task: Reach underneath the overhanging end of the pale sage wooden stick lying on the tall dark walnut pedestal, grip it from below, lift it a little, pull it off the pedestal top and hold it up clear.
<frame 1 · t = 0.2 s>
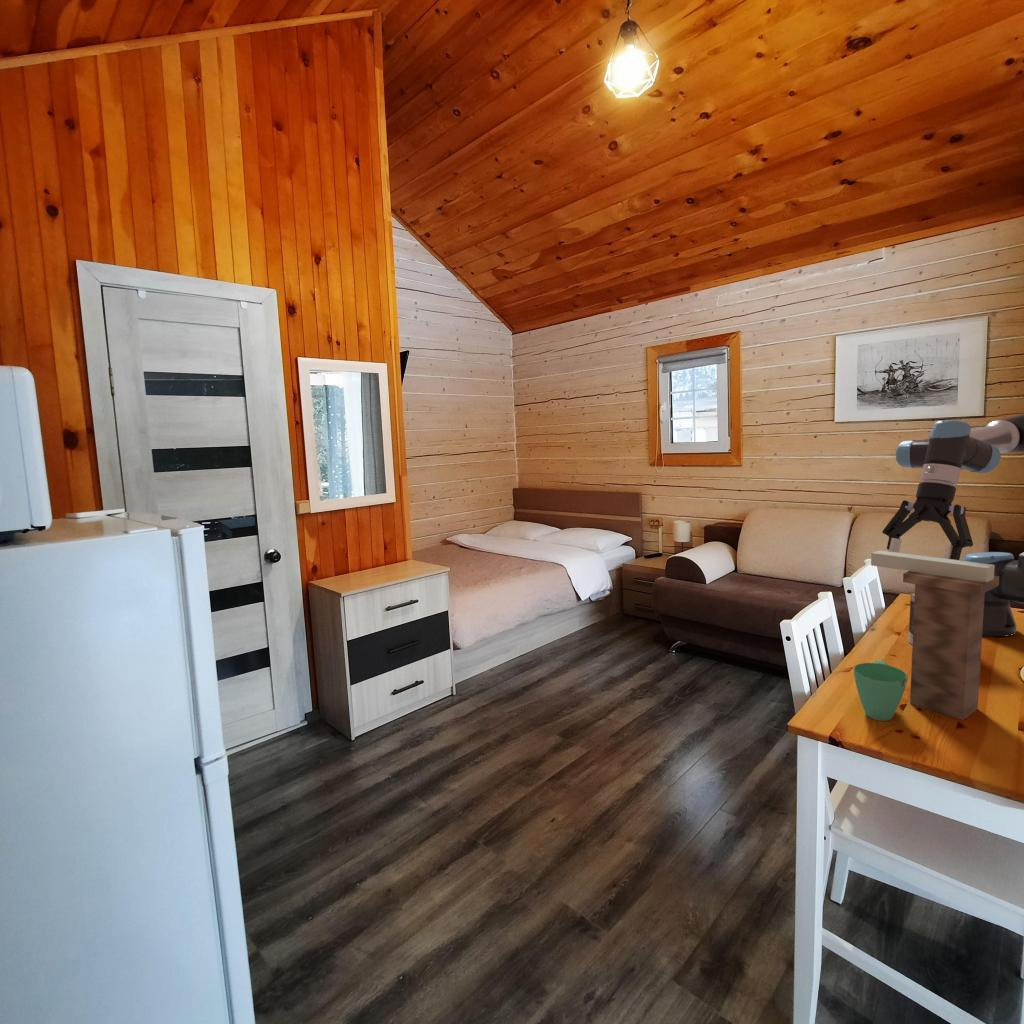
hand: (917, 568, 141), 27 cm above the table, tool tilted 15°, fingers open, 13 cm apart
mug: (878, 711, 128), on the table
tea box: (940, 653, 158), on the table
pedestal: (943, 706, 128), on the table
stick: (928, 571, 128), point 30 cm above the table, touching pedestal
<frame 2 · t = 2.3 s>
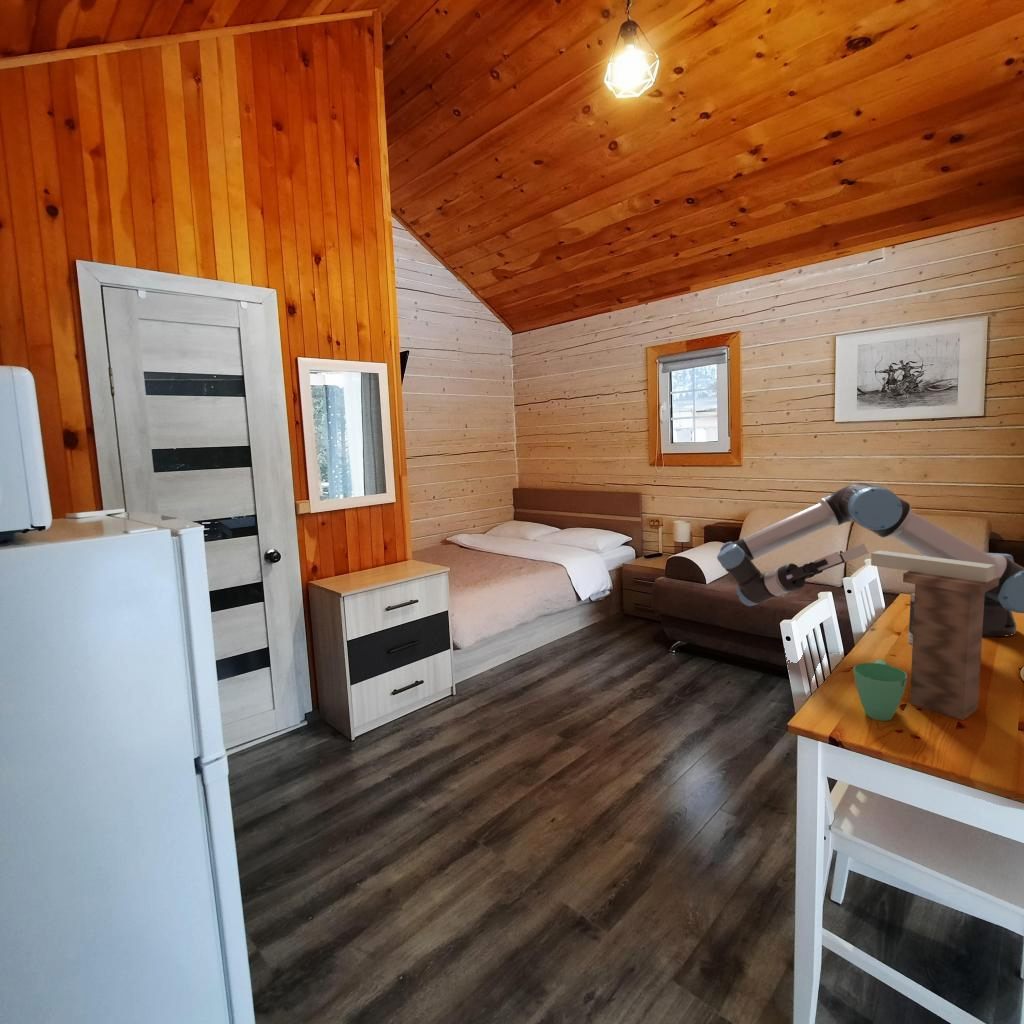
hand: (853, 552, 151), 30 cm above the table, tool pointing upward, fingers open, 13 cm apart
nothing on the table moved.
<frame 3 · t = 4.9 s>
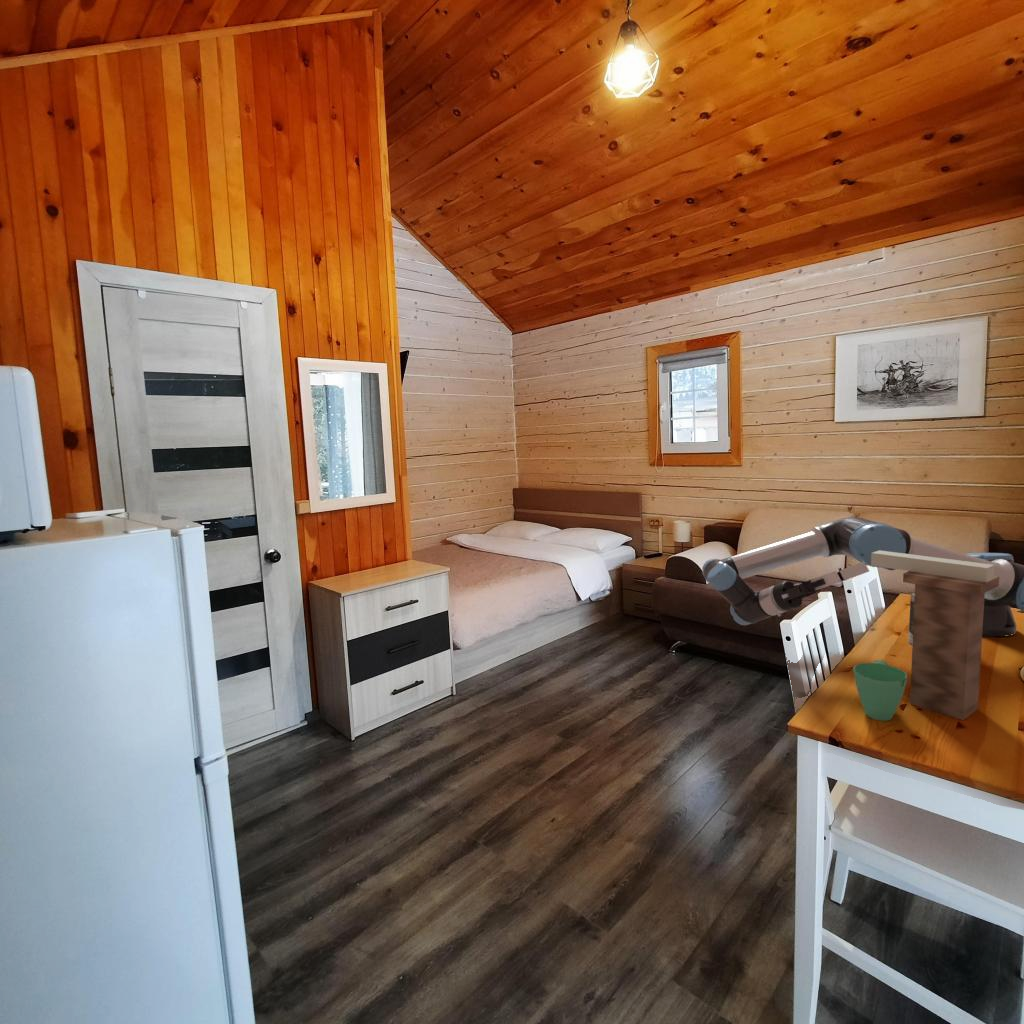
hand: (852, 571, 141), 28 cm above the table, tool pointing upward, fingers open, 13 cm apart
nothing on the table moved.
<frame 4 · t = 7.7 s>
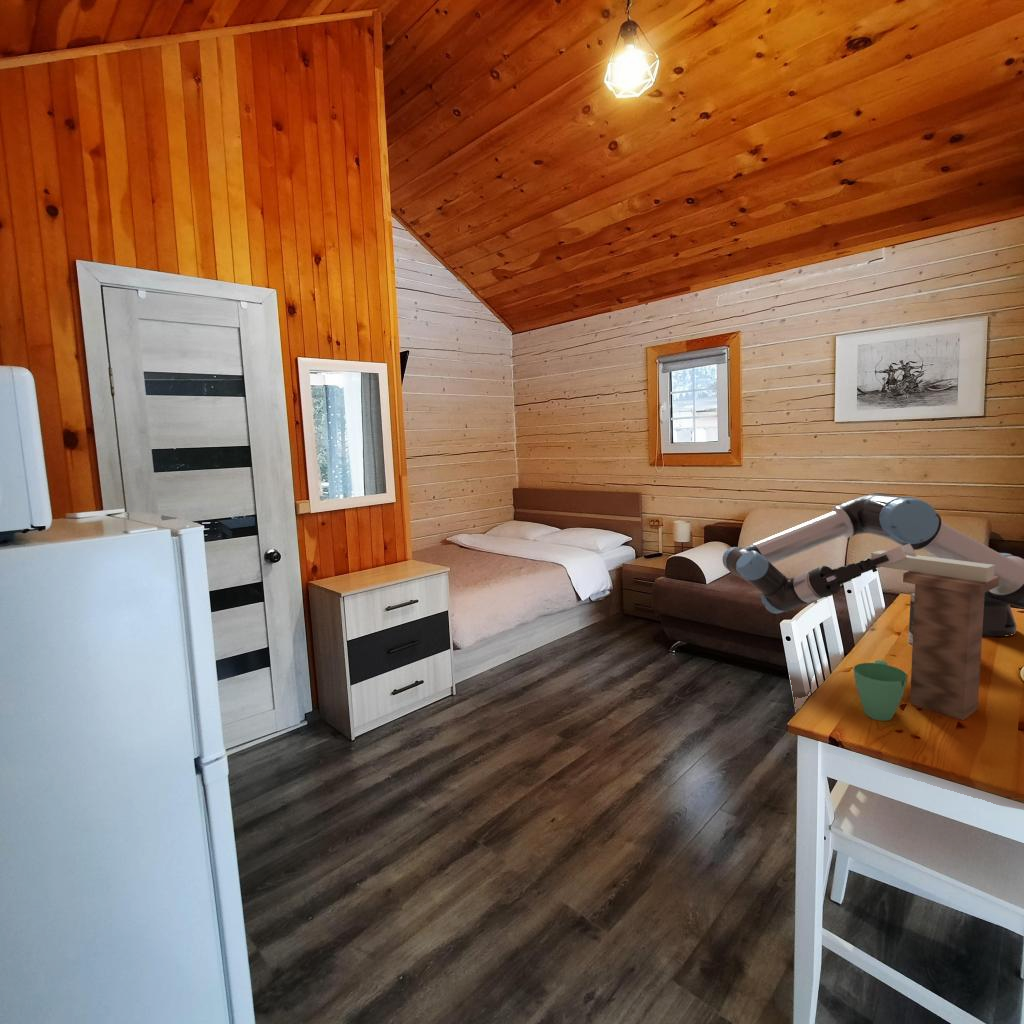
hand: (907, 550, 131), 34 cm above the table, tool pointing upward, fingers closed on stick, 4 cm apart
stick: (928, 571, 128), point 30 cm above the table, touching gripper, pedestal
everything else where it was.
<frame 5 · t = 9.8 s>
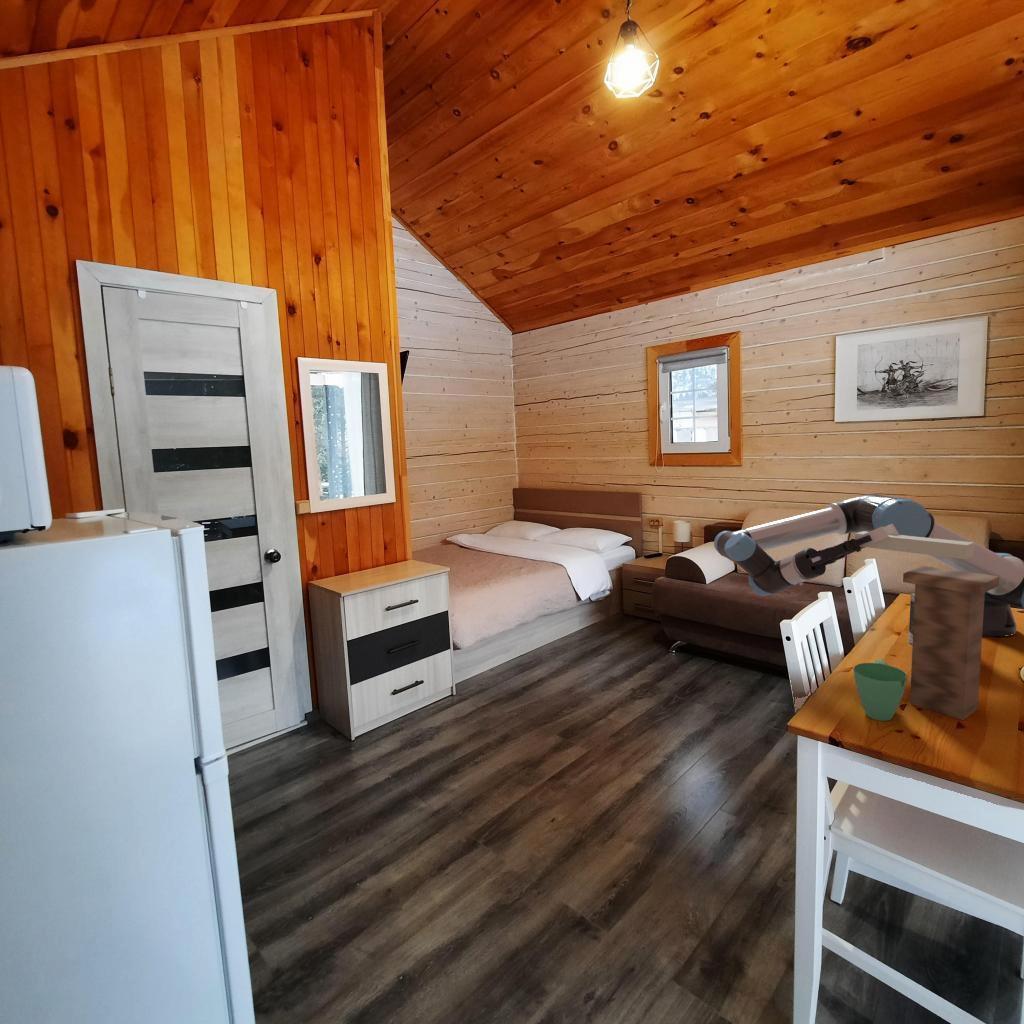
hand: (890, 530, 133), 38 cm above the table, tool pointing upward, fingers closed on stick, 4 cm apart
stick: (910, 550, 130), point 34 cm above the table, touching gripper
everything else where it was.
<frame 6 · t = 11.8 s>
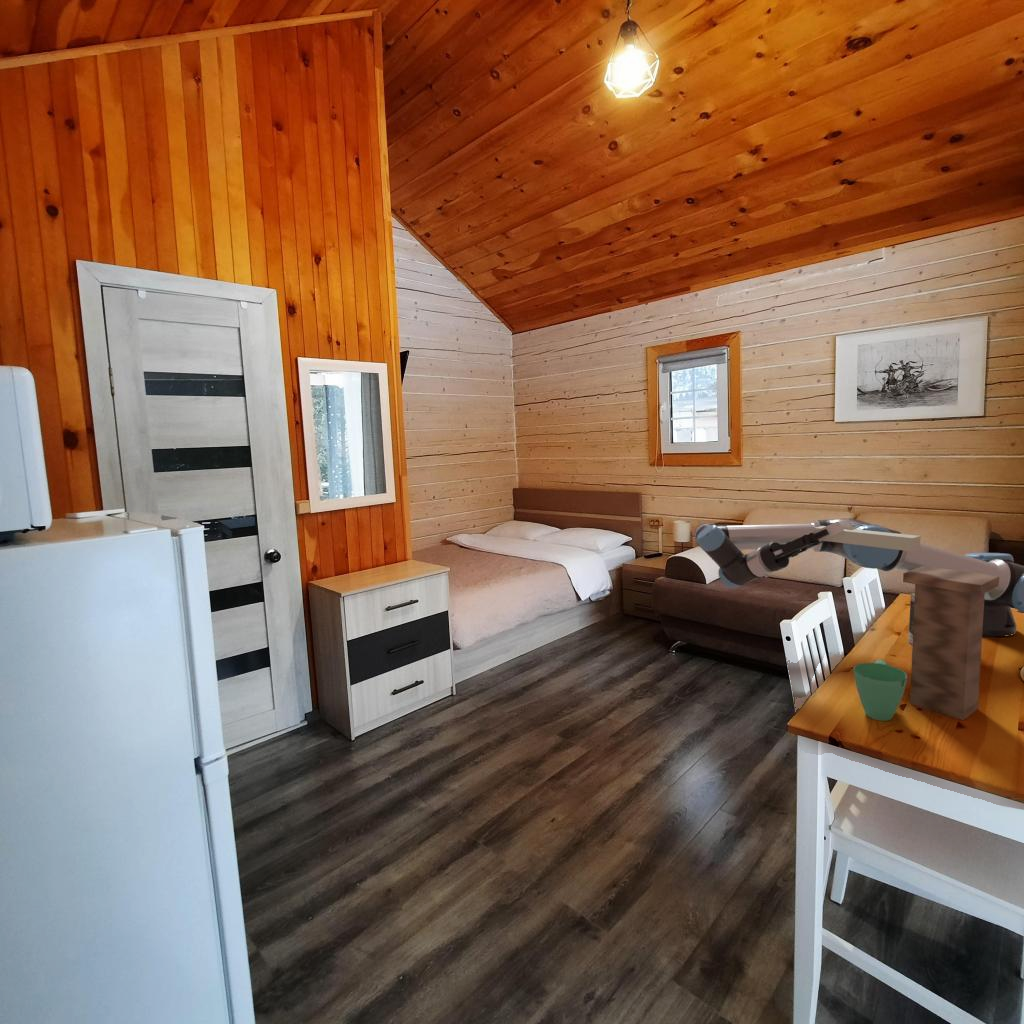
hand: (845, 524, 141), 39 cm above the table, tool pointing upward, fingers closed on stick, 4 cm apart
stick: (863, 543, 138), point 35 cm above the table, touching gripper
everything else where it was.
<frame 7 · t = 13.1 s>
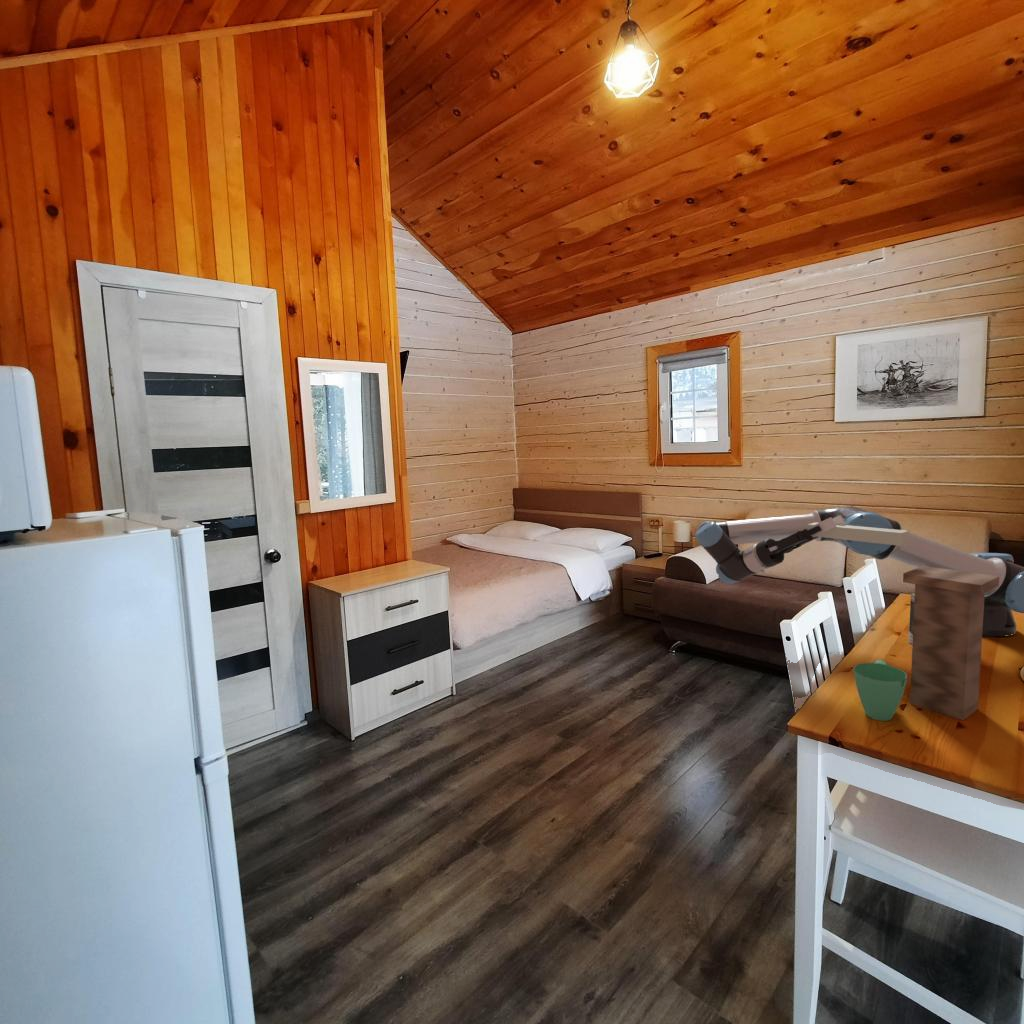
hand: (837, 521, 146), 39 cm above the table, tool pointing upward, fingers closed on stick, 4 cm apart
stick: (855, 539, 143), point 35 cm above the table, touching gripper
everything else where it was.
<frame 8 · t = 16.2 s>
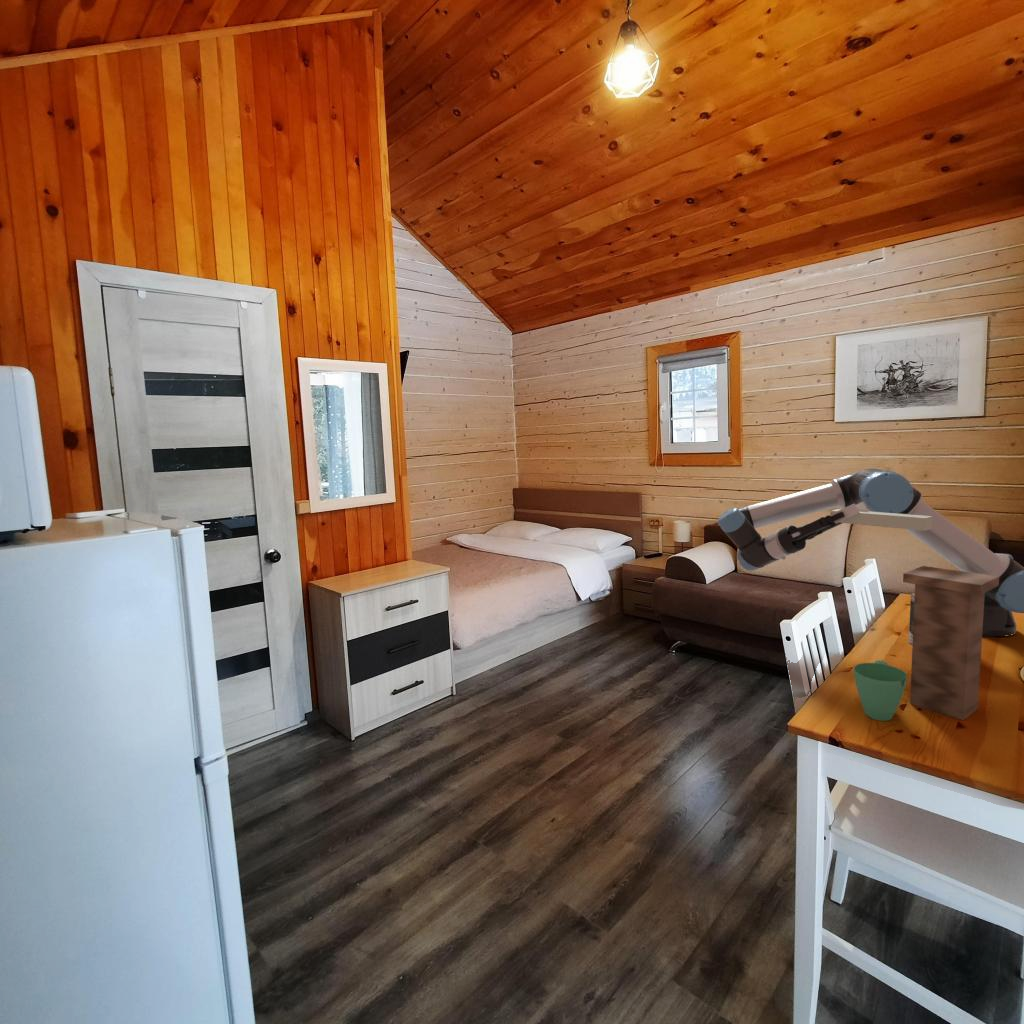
hand: (860, 507, 149), 42 cm above the table, tool pointing upward, fingers closed on stick, 4 cm apart
stick: (878, 525, 146), point 37 cm above the table, touching gripper
everything else where it was.
at the end: the gripper is holding stick; stick touching gripper; stick moved 20.6 cm from its start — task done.
